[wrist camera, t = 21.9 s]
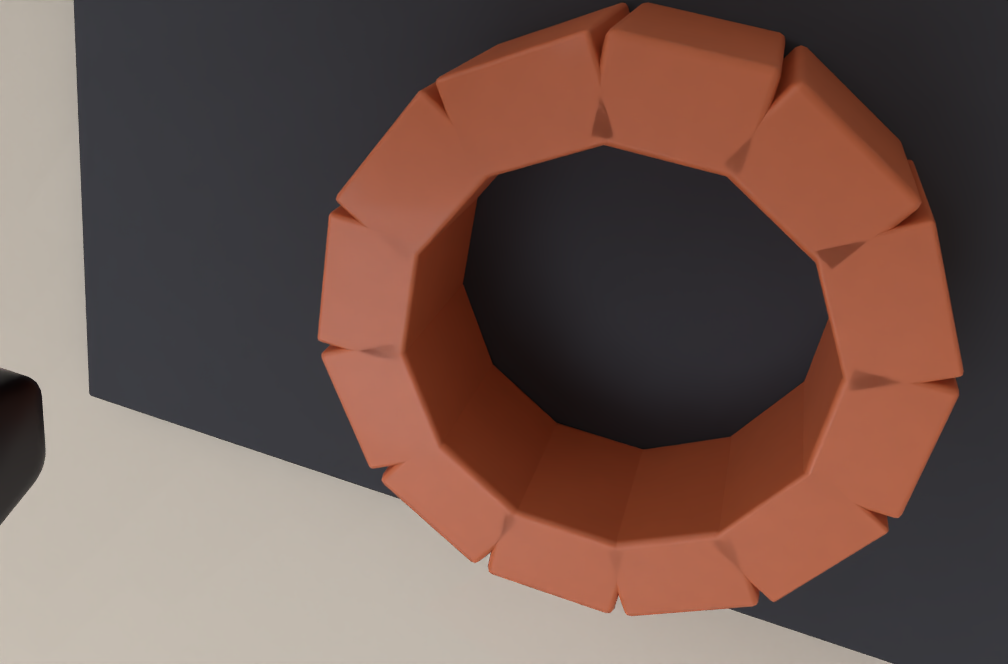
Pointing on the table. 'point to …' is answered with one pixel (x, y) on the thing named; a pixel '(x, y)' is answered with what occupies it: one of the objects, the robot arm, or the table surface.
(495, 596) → the table surface
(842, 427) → the terracotta ring
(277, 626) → the table surface
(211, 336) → the felt mat
